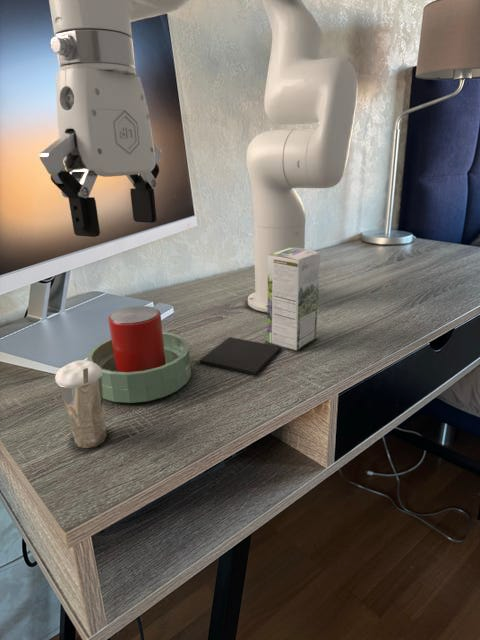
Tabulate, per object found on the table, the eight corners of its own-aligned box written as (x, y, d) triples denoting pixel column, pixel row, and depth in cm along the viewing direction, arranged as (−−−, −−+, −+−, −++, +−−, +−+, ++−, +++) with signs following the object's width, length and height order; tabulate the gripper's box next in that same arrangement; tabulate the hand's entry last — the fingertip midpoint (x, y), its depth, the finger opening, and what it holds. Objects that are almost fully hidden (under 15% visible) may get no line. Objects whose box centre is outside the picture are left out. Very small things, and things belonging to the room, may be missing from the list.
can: (139, 362, 65) (131, 302, 61) (176, 370, 62) (170, 309, 59) (107, 382, 59) (96, 318, 56) (146, 393, 57) (137, 326, 53)
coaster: (229, 339, 72) (229, 337, 72) (280, 349, 68) (280, 346, 68) (200, 363, 65) (199, 360, 65) (255, 375, 61) (255, 372, 61)
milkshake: (79, 462, 45) (61, 375, 42) (64, 437, 49) (46, 356, 46) (121, 445, 48) (108, 361, 44) (104, 422, 52) (90, 344, 48)
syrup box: (286, 331, 75) (287, 246, 69) (317, 339, 71) (320, 250, 66) (266, 342, 71) (265, 253, 65) (298, 352, 67) (299, 258, 62)
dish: (136, 352, 69) (133, 325, 68) (209, 368, 63) (207, 339, 62) (71, 392, 58) (65, 361, 57) (151, 416, 53) (146, 383, 51)
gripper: (54, 38, 37) (87, 245, 43) (176, 67, 51) (187, 218, 57) (-5, 50, 40) (33, 240, 46) (125, 73, 54) (140, 216, 60)
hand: (118, 228), depth 51 cm, fingers open, 9 cm apart
